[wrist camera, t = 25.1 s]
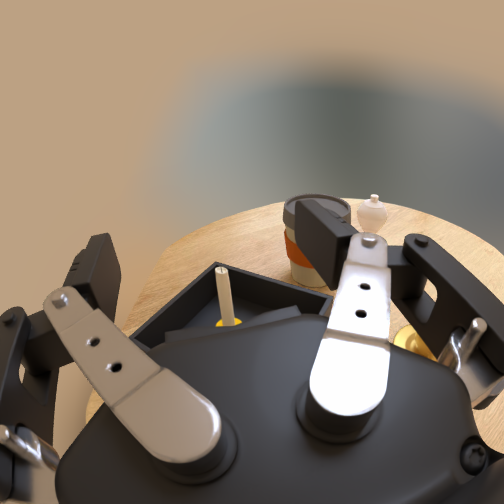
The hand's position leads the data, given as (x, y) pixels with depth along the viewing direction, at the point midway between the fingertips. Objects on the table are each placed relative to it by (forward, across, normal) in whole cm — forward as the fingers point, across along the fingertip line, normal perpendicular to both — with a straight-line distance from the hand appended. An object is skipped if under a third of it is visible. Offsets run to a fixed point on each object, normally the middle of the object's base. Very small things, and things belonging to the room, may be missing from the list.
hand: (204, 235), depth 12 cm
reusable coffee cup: (+33, -22, +30) cm, 50 cm away
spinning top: (+40, -41, +30) cm, 65 cm away
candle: (+17, -2, +29) cm, 34 cm away
